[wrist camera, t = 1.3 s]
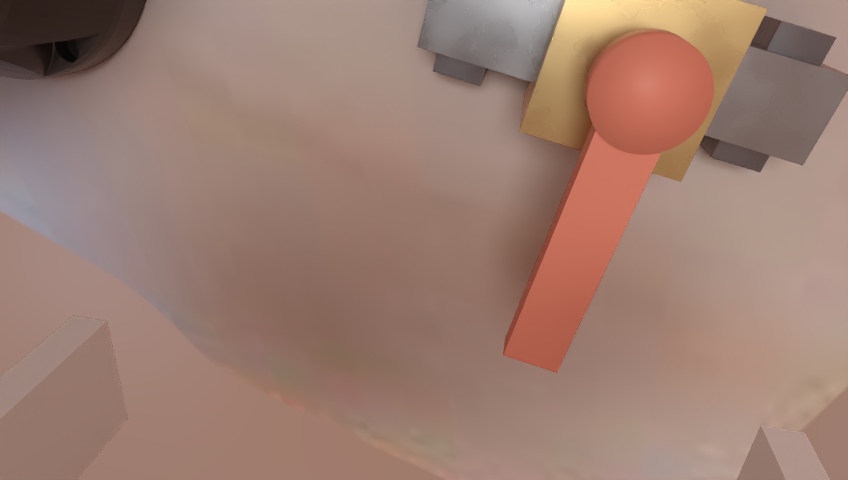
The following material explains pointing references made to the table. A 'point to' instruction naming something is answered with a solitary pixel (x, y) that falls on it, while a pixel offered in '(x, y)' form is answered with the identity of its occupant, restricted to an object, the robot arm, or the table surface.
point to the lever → (609, 180)
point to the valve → (642, 9)
